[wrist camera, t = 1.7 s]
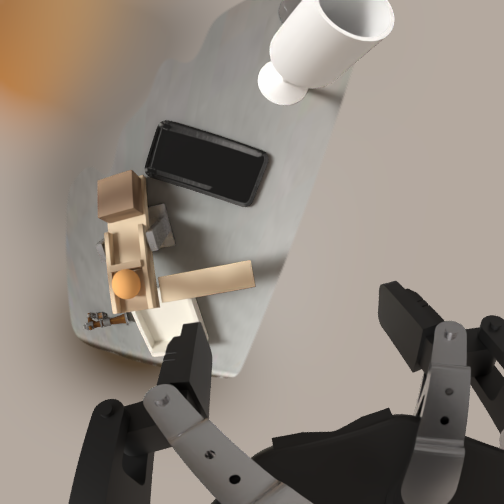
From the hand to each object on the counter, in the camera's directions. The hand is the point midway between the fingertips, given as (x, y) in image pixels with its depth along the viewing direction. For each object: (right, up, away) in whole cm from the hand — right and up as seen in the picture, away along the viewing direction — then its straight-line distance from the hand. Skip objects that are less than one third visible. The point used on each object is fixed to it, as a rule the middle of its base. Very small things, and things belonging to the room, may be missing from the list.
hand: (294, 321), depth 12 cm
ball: (-16, -1, +19) cm, 25 cm away
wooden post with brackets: (-26, -8, +32) cm, 42 cm away
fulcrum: (-17, +6, +26) cm, 32 cm away
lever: (-11, +5, +22) cm, 25 cm away
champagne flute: (+2, +25, +20) cm, 32 cm away
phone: (-8, +15, +24) cm, 29 cm away
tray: (-15, -7, +32) cm, 36 cm away
